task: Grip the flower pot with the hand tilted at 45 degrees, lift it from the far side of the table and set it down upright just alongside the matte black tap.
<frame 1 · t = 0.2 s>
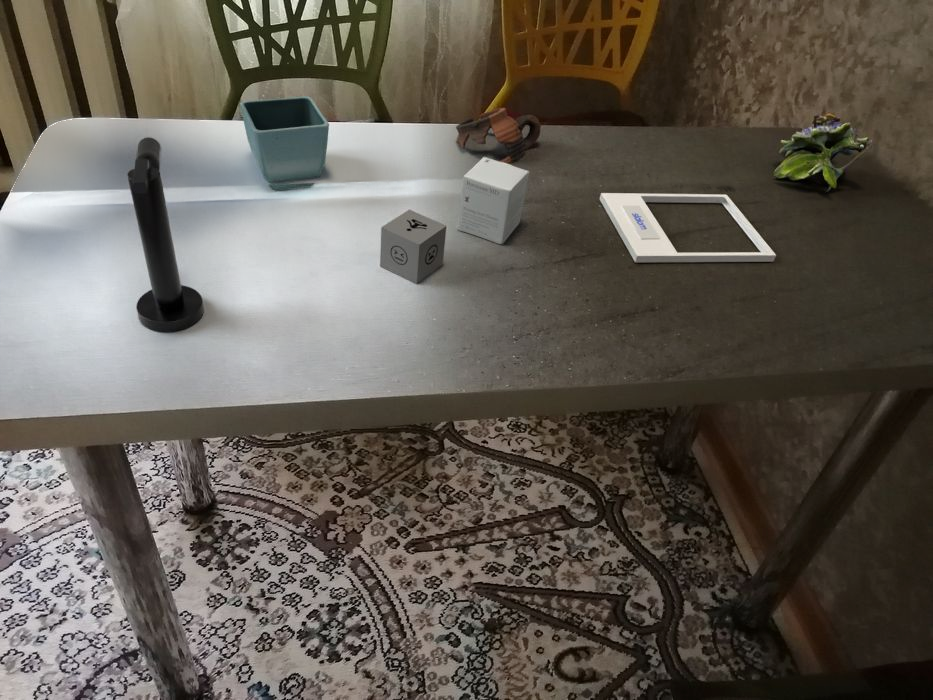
pottery mug: (497, 161, 105), on the table
product box: (488, 228, 91), on the table
dice cube: (411, 266, 83), on the table
passion flower: (811, 182, 110), on the table
photo frame: (682, 230, 95), on the table
tap: (171, 312, 73), on the table
flower pot: (288, 181, 94), on the table
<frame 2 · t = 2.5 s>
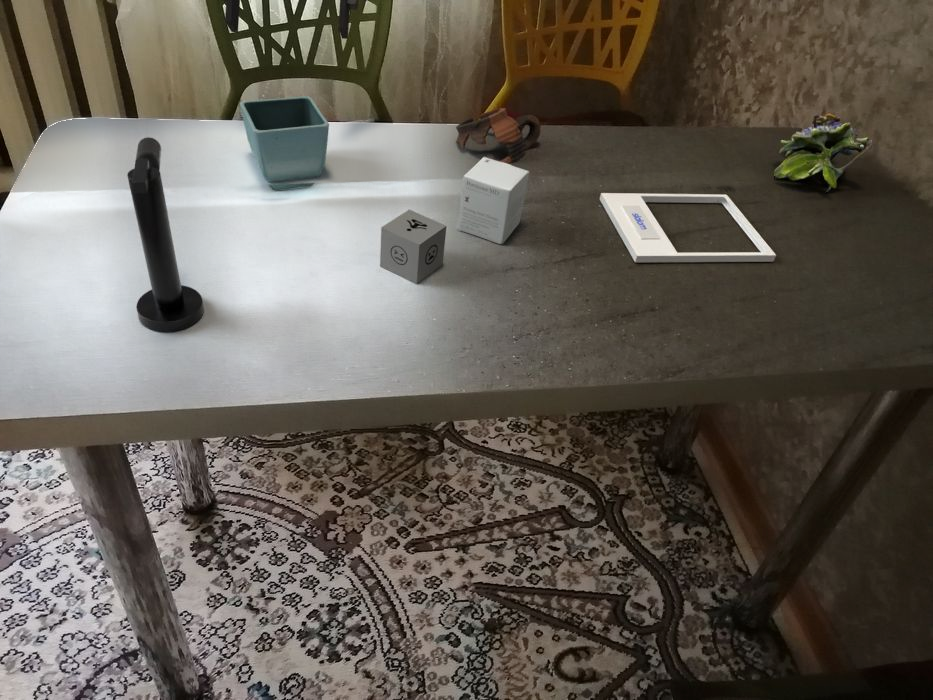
hand: (287, 30, 91), 16 cm above the table, tool tilted 45°, fingers open, 13 cm apart
nothing on the table moved.
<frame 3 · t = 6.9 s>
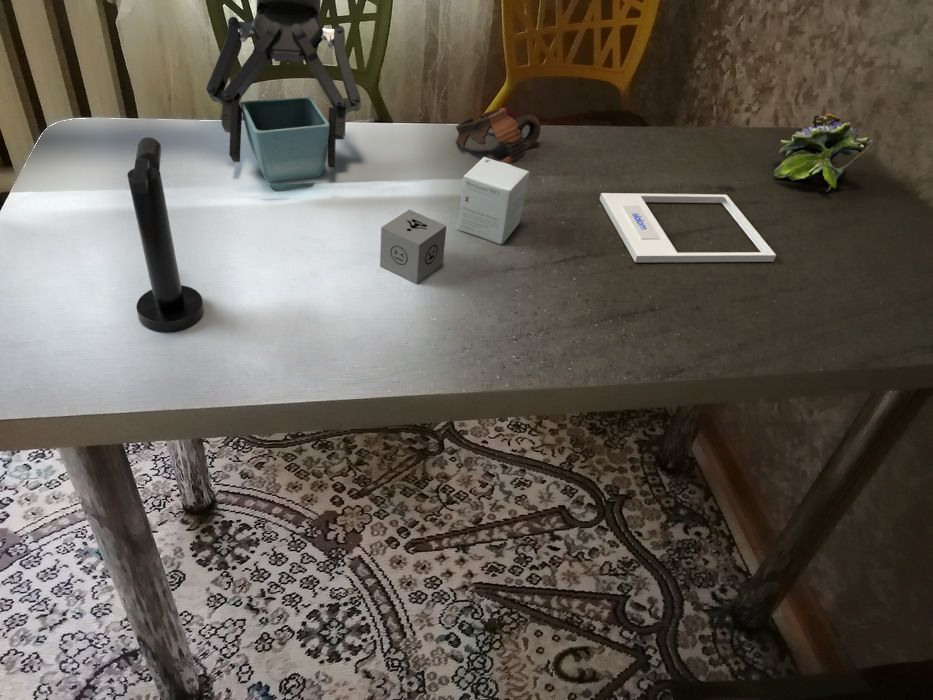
hand: (283, 161, 89), 4 cm above the table, tool tilted 45°, fingers closed on flower pot, 11 cm apart
flower pot: (288, 182, 94), on the table, touching gripper
everything else where it was.
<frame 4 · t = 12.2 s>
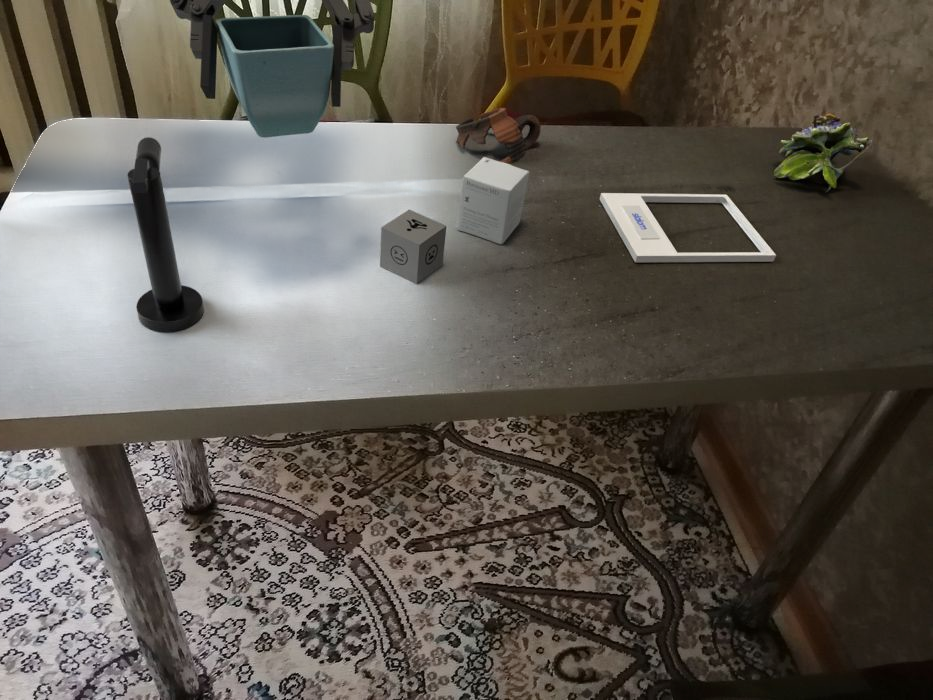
hand: (272, 97, 68), 19 cm above the table, tool tilted 45°, fingers closed on flower pot, 11 cm apart
flower pot: (279, 128, 73), point 15 cm above the table, touching gripper
everything else where it was.
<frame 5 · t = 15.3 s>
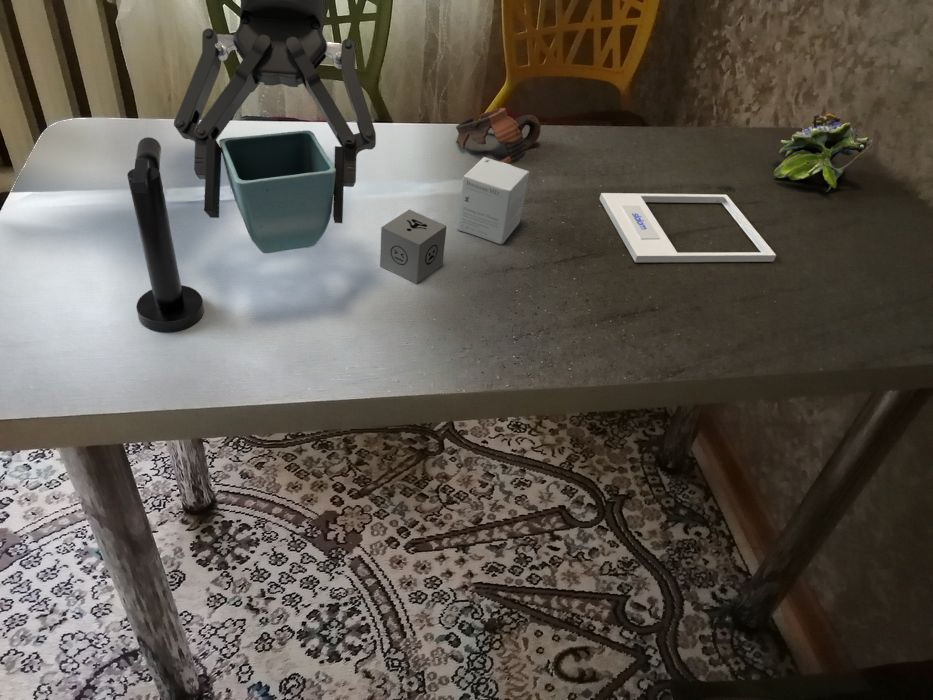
hand: (275, 217, 68), 10 cm above the table, tool tilted 45°, fingers closed on flower pot, 11 cm apart
flower pot: (282, 239, 73), point 6 cm above the table, touching gripper
everything else where it was.
when the fingers open (4 cm above the table, at t = 17.7 s): flower pot stays where it is, on the table.
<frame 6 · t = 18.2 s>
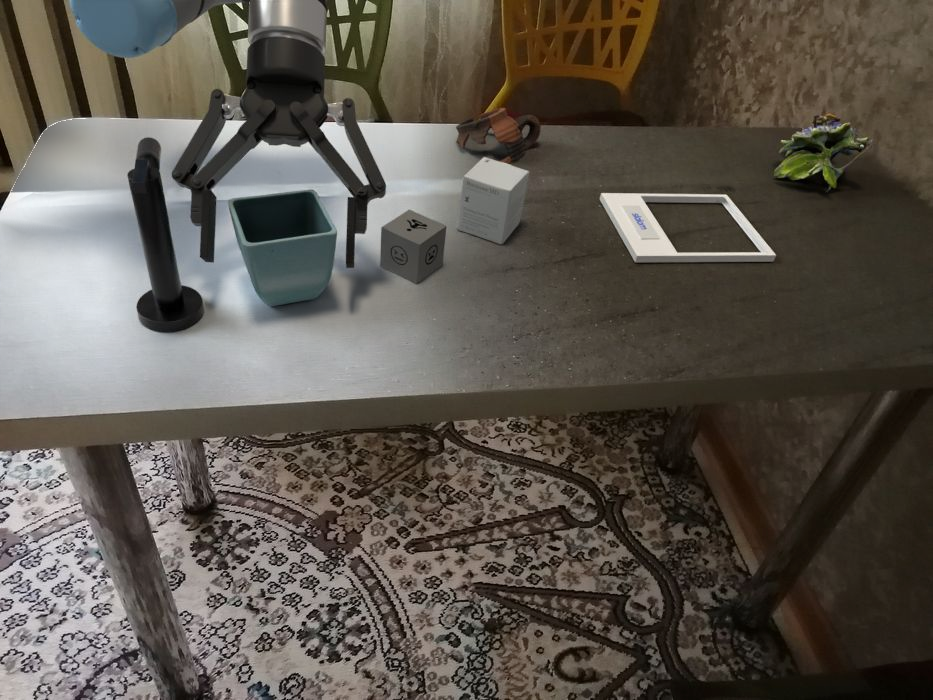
hand: (279, 263, 72), 5 cm above the table, tool tilted 45°, fingers open, 13 cm apart
flower pot: (286, 291, 77), on the table
everything else where it was.
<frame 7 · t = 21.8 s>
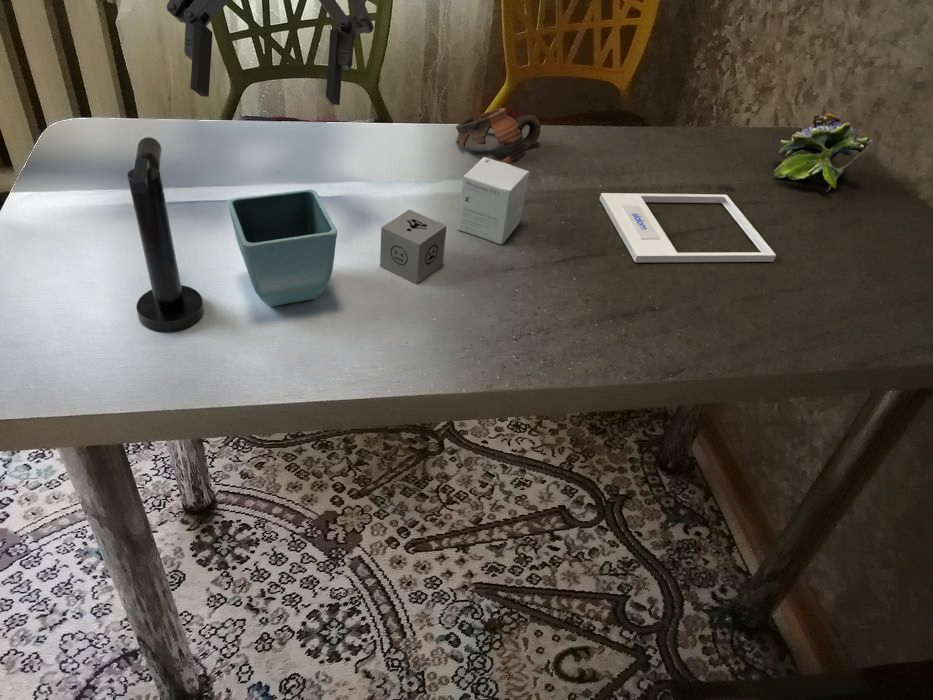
hand: (265, 97, 75), 16 cm above the table, tool tilted 40°, fingers open, 13 cm apart
nothing on the table moved.
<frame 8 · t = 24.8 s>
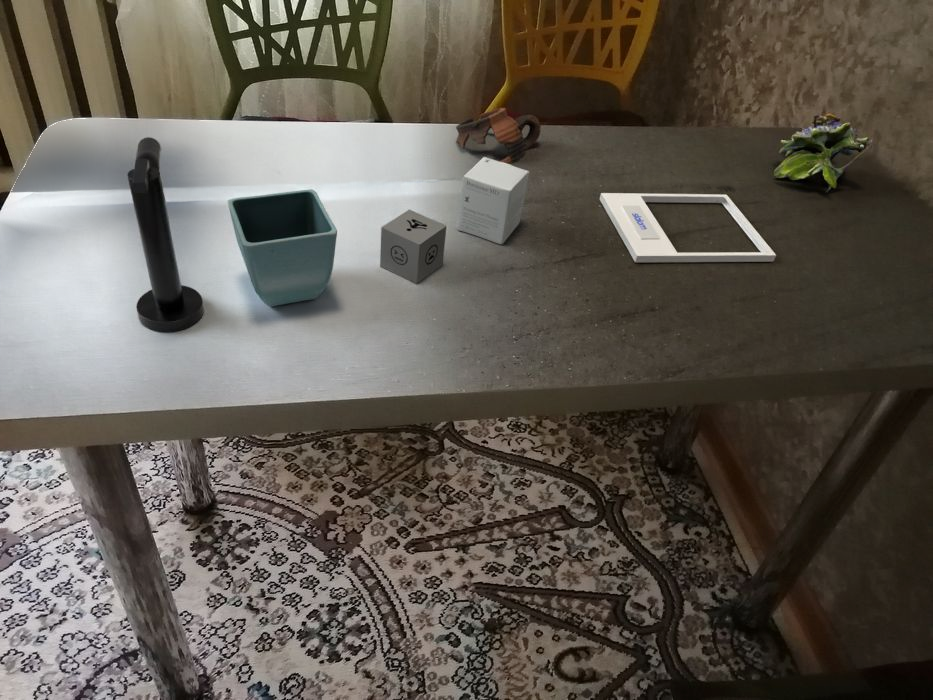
nothing on the table moved.
at the end: flower pot inside the target area on the table beside the tap (0.2 cm from its centre), on the table; flower pot tilted 0°; the gripper is holding nothing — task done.
